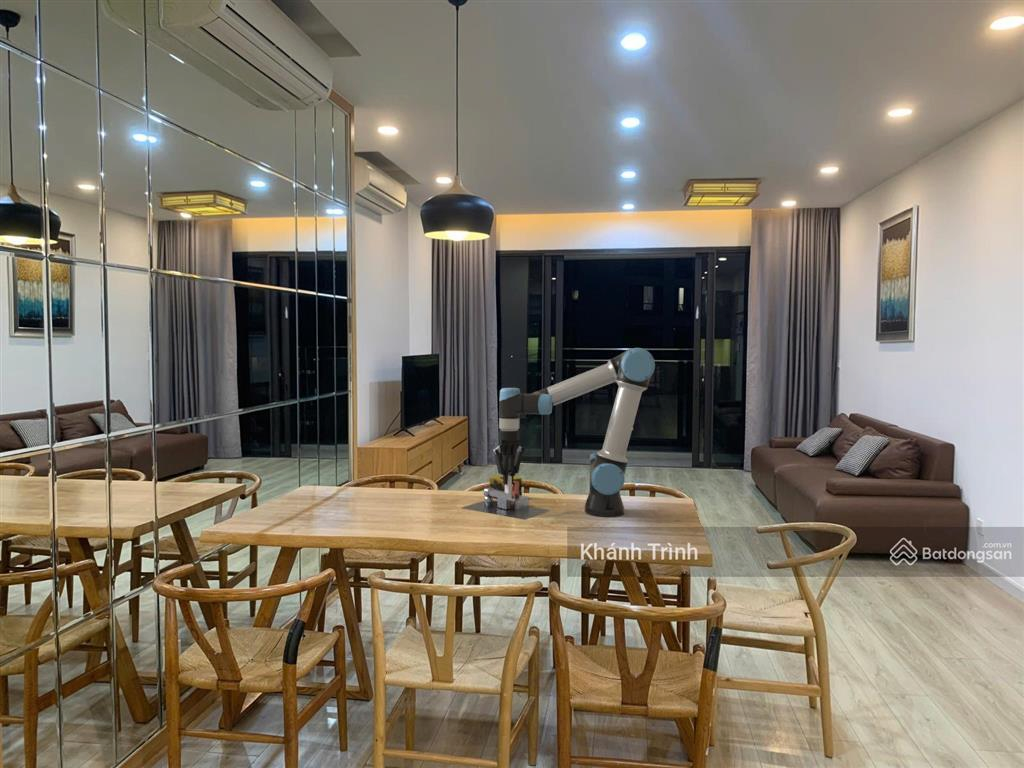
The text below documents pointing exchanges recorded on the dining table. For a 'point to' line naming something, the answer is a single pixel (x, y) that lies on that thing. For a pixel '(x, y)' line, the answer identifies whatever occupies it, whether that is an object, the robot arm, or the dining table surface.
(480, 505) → the gray mechanism base plate
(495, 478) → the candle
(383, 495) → the dining table surface
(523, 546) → the dining table surface
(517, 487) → the lever
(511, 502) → the walnut
